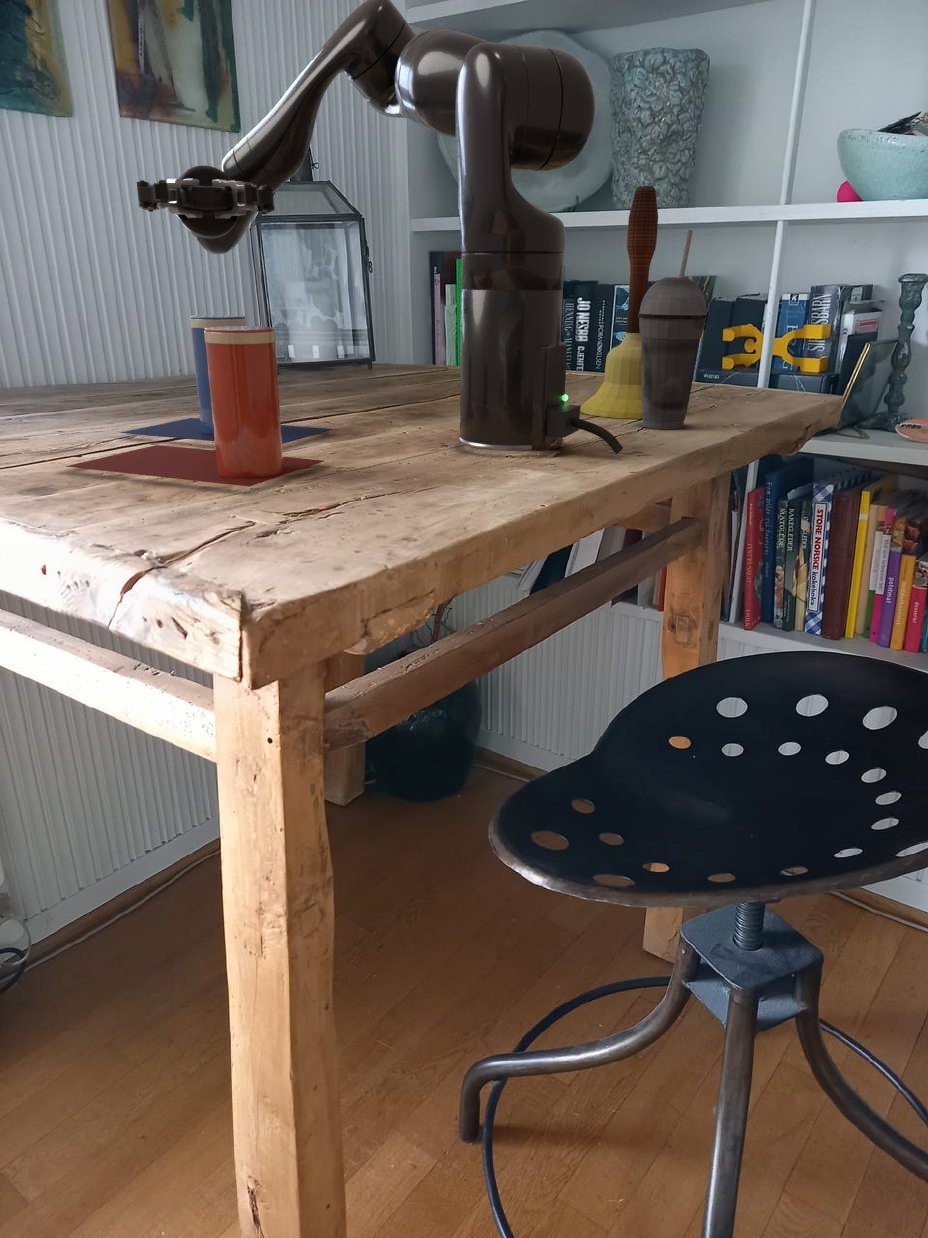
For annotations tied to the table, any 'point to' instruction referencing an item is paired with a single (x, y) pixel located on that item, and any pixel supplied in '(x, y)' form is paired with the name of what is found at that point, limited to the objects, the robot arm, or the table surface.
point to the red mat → (181, 465)
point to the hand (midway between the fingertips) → (206, 192)
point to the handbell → (630, 318)
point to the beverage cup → (670, 347)
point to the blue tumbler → (201, 362)
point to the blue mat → (193, 431)
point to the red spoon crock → (245, 400)
